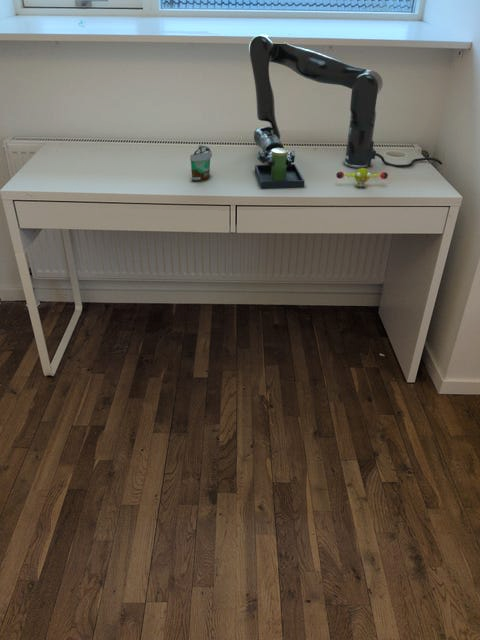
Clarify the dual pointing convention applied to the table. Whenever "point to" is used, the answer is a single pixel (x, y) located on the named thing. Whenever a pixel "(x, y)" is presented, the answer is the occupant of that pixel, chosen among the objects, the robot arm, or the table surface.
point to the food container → (200, 164)
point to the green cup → (279, 164)
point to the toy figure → (362, 176)
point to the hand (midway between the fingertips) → (280, 163)
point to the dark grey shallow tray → (291, 181)
